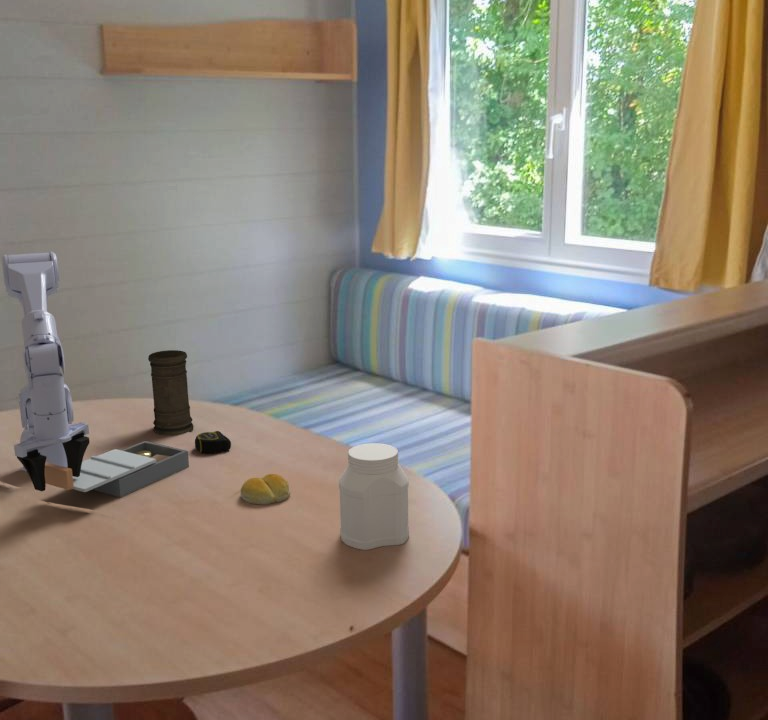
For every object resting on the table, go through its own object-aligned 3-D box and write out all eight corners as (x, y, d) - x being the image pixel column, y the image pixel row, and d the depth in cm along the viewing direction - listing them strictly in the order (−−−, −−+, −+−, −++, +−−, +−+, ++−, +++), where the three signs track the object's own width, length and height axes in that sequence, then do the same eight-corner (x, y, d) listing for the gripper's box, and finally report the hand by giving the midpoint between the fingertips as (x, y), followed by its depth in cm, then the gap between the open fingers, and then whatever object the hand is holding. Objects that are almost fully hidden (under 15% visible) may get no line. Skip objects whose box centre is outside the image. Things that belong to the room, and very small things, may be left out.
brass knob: (132, 466, 189) (131, 454, 188) (144, 461, 191) (143, 449, 191) (143, 469, 187) (142, 457, 187) (155, 464, 190) (154, 452, 189)
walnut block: (145, 472, 185) (144, 461, 185) (157, 466, 189) (156, 454, 188) (162, 475, 184) (161, 463, 183) (174, 468, 187) (173, 456, 187)
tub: (77, 487, 180) (75, 468, 179) (146, 459, 195) (145, 440, 194) (121, 500, 174) (119, 480, 173) (189, 469, 188) (187, 450, 187)
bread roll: (236, 494, 176) (234, 474, 175) (281, 485, 180) (280, 466, 179) (248, 510, 169) (247, 489, 168) (295, 501, 173) (294, 480, 172)
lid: (35, 483, 171) (32, 461, 170) (115, 451, 187) (113, 431, 186) (77, 495, 165) (74, 473, 164) (156, 461, 181) (154, 441, 180)
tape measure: (232, 454, 197) (231, 437, 196) (201, 459, 194) (200, 442, 193) (222, 444, 203) (221, 428, 202) (191, 450, 200) (190, 433, 199)
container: (184, 438, 207) (178, 359, 202) (146, 436, 208) (139, 358, 204) (200, 425, 215) (194, 349, 211) (163, 423, 217) (157, 348, 212)
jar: (349, 553, 151) (346, 465, 147) (334, 529, 160) (331, 446, 156) (416, 542, 154) (415, 456, 151) (398, 519, 163) (397, 438, 159)
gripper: (29, 425, 157) (38, 500, 160) (97, 403, 169) (104, 473, 172) (2, 419, 160) (12, 492, 164) (71, 397, 172) (78, 466, 176)
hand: (57, 482), depth 168 cm, fingers open, 7 cm apart
